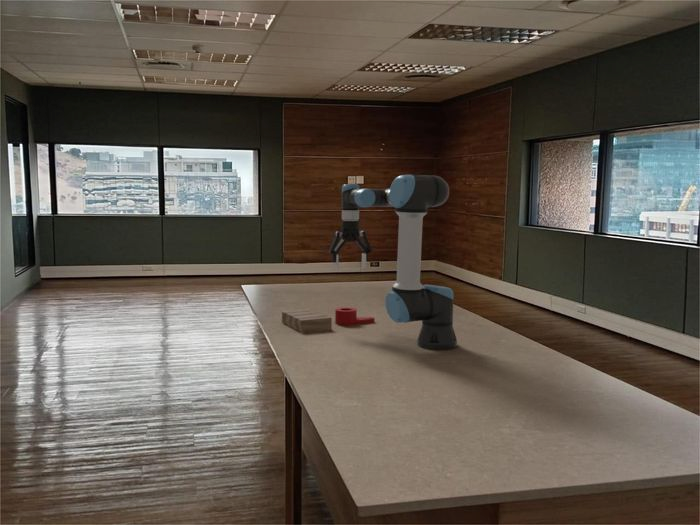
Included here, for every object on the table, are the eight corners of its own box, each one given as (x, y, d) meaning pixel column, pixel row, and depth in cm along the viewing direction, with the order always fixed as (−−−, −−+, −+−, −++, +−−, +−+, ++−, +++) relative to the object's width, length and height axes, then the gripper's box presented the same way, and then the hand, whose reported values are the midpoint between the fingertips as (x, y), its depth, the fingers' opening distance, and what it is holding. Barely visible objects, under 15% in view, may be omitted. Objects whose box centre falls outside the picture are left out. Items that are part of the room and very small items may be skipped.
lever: (338, 326, 274) (338, 311, 273) (332, 322, 283) (332, 308, 282) (377, 324, 279) (377, 309, 278) (370, 320, 288) (371, 306, 287)
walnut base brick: (331, 331, 266) (331, 317, 265) (300, 334, 260) (300, 320, 259) (310, 321, 285) (310, 308, 285) (281, 324, 279) (281, 311, 278)
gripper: (371, 219, 281) (370, 266, 283) (320, 220, 269) (320, 269, 271) (379, 220, 274) (379, 268, 276) (328, 221, 263) (328, 271, 265)
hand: (350, 269), depth 274 cm, fingers open, 13 cm apart
